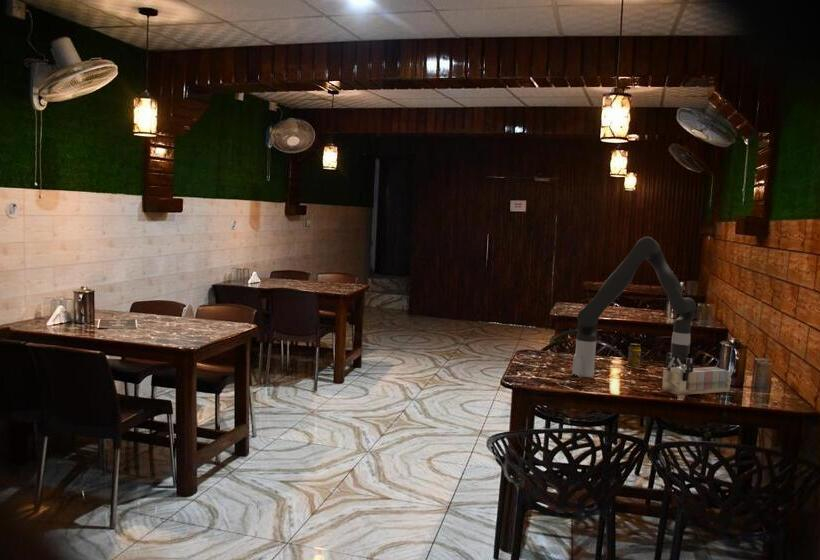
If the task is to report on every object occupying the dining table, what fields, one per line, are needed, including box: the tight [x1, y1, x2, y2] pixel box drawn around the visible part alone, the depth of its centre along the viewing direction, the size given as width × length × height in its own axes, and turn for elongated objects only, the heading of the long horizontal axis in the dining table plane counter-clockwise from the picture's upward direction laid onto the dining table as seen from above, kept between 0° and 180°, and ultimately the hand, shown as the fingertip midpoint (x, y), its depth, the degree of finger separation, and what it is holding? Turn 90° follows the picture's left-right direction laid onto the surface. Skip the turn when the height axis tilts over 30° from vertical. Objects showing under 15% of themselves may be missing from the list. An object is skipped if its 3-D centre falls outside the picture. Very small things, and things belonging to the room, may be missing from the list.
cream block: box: [670, 366, 686, 390], centre depth 288 cm, size 4×6×9 cm
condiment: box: [627, 342, 642, 367], centre depth 340 cm, size 7×8×12 cm
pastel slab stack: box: [661, 366, 732, 396], centre depth 292 cm, size 9×30×10 cm, turn 111°
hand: (677, 378), depth 288 cm, fingers open, 8 cm apart
